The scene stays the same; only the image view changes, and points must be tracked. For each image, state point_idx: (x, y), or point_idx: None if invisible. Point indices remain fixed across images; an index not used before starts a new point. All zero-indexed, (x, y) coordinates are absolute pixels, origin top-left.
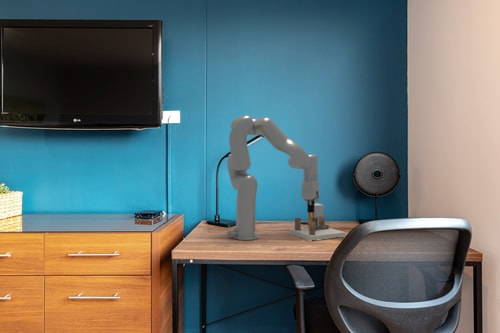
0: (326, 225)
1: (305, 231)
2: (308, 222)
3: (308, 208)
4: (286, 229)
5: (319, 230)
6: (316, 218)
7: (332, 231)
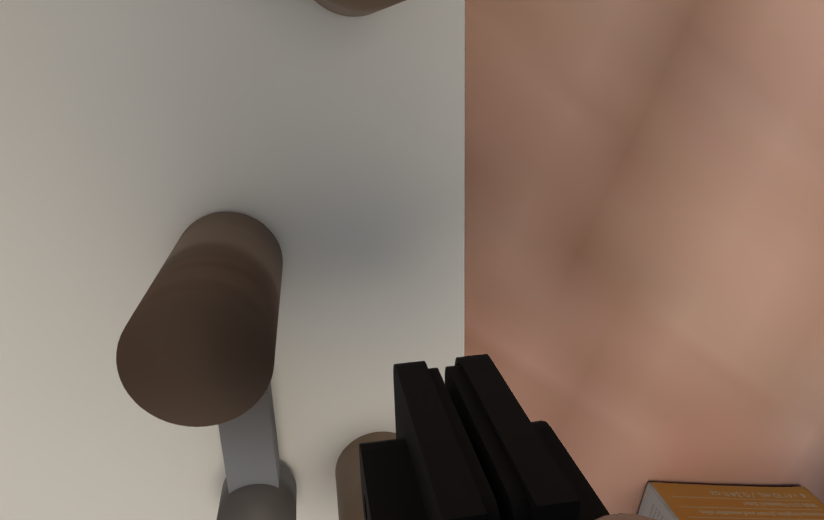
0: (240, 513)
1: (160, 13)
2: (814, 507)
3: (475, 426)
4: (747, 32)
5: None
6: (119, 362)
7: (40, 466)
